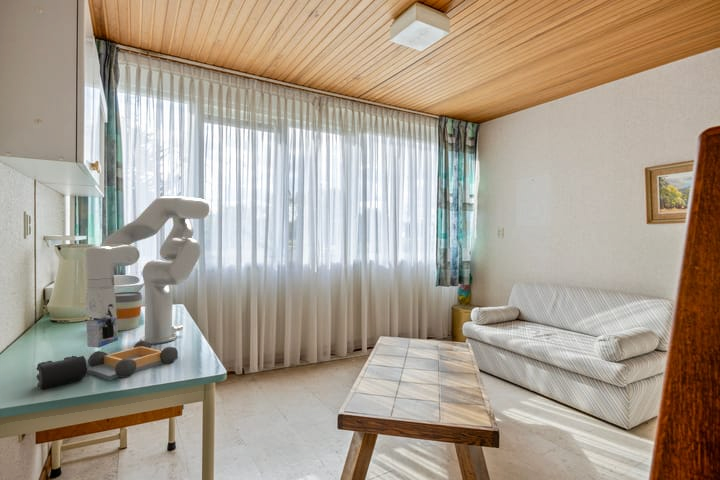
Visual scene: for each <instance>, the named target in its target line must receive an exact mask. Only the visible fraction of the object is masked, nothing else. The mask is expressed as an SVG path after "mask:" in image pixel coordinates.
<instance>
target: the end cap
mask: <svg viewBox="0 0 720 480" xmlns="http://www.w3.org/2000/svg"><path fill="white" fill-rule="evenodd" d="M87 368H88V362H87V359H86V358H85V356H84V355H80V356H75V355H72V356H67V357H64V358H63V359H62V360H55V361H52V360H48V361H42V362H39V363H37V366H36V370H37V371H38V374H37V375H36V379H37V381H38V383H37V386H38V388H39V389H41V390H45V389H50V388H52V387H57V386H61V385H65V384H70V383H73V382H74V383H75V382H78V381H82V380H83V379H84V378H85V377H86V375H87V374H88V373H87Z"/></svg>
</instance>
